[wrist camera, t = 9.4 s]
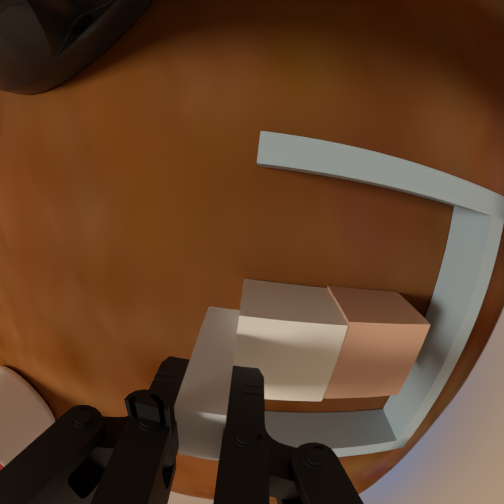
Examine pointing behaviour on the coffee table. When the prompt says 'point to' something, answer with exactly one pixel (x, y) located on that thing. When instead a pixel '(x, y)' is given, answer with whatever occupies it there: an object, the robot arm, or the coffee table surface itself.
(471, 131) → the coffee table surface
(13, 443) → the cup
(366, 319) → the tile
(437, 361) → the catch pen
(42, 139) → the coffee table surface
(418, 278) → the coffee table surface
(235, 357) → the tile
